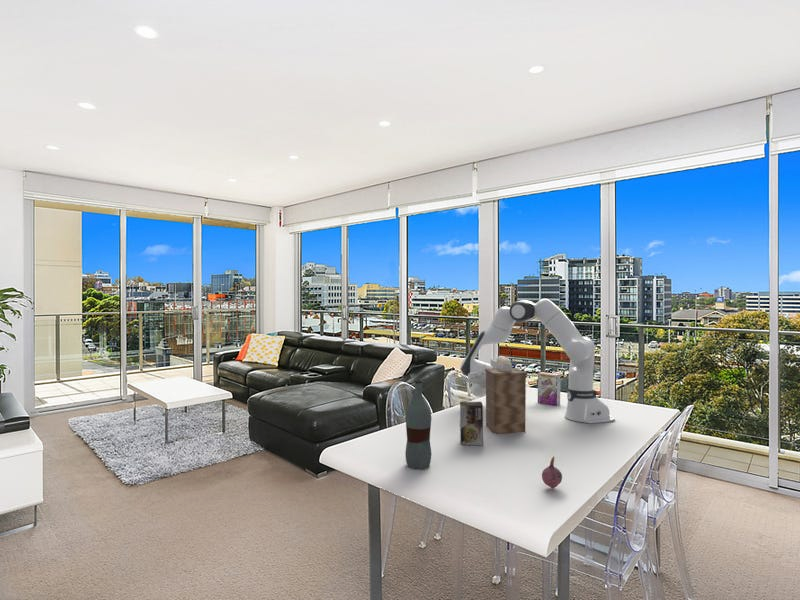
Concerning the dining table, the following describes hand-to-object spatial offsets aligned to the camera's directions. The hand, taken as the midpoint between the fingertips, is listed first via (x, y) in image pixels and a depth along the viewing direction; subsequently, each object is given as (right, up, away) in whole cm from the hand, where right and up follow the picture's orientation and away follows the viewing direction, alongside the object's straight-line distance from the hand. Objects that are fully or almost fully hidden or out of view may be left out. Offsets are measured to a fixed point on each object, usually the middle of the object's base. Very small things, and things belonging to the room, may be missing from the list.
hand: (491, 371), depth 227 cm
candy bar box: (+37, -22, +29) cm, 52 cm away
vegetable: (+2, -24, -83) cm, 86 cm away
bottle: (-38, -23, -63) cm, 77 cm away
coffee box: (-16, -23, -38) cm, 47 cm away
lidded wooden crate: (+2, -23, -19) cm, 30 cm away
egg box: (+1, +4, -14) cm, 14 cm away
